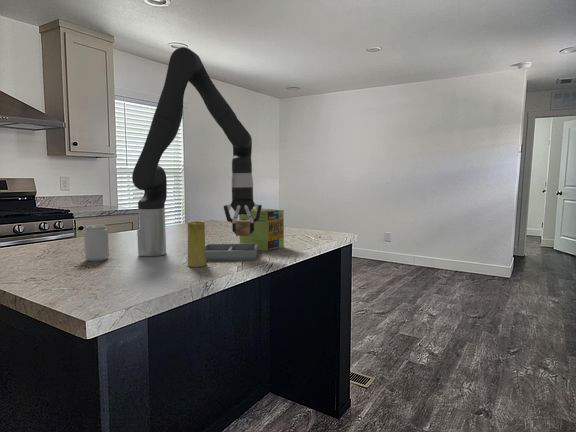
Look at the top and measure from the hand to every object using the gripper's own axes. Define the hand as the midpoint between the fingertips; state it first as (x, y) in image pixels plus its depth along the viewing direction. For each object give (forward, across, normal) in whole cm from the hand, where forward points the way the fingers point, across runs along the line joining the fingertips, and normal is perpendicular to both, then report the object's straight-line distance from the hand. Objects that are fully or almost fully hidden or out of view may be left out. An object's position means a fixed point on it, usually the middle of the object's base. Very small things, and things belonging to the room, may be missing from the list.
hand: (243, 233), depth 140 cm
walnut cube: (+1, 0, 0) cm, 1 cm away
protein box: (+9, +6, +17) cm, 20 cm away
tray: (+8, -5, 0) cm, 10 cm away
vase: (+9, -14, -14) cm, 22 cm away
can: (+8, -51, -3) cm, 52 cm away
